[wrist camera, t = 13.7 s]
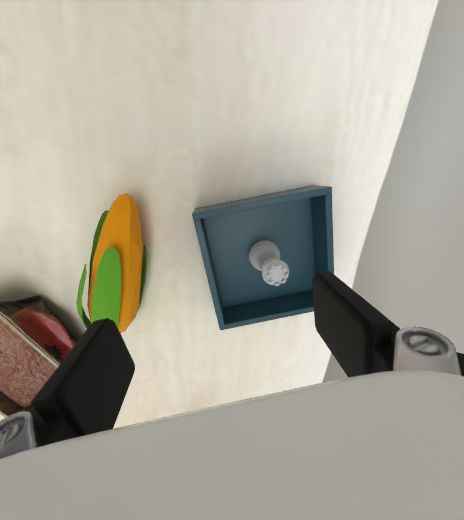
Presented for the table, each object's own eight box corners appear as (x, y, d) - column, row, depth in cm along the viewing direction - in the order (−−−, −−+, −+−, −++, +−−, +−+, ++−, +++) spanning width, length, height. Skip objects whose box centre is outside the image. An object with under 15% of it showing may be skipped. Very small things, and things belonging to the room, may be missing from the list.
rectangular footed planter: (49, 268, 34) (-28, 294, 25) (114, 362, 38) (68, 417, 28) (-20, 306, 37) (-116, 343, 27) (47, 391, 40) (-17, 451, 30)
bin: (195, 208, 31) (192, 213, 26) (314, 185, 31) (331, 186, 27) (219, 311, 37) (220, 330, 32) (319, 290, 37) (334, 307, 32)
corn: (63, 351, 28) (68, 185, 22) (89, 315, 35) (99, 182, 29) (127, 356, 30) (148, 204, 24) (140, 321, 37) (159, 197, 31)
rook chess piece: (245, 266, 34) (255, 291, 27) (251, 237, 33) (262, 255, 25) (274, 269, 35) (291, 295, 27) (281, 241, 33) (301, 260, 26)
